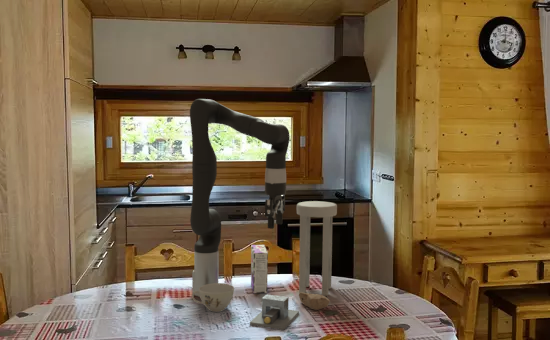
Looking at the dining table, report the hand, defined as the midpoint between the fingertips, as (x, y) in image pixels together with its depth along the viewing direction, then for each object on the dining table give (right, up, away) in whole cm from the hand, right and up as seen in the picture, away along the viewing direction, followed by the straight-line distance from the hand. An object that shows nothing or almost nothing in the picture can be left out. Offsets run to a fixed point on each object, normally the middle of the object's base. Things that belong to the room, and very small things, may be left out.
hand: (275, 226), depth 192 cm
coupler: (0, -31, -8) cm, 32 cm away
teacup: (-22, -30, +1) cm, 37 cm away
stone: (+14, -30, +6) cm, 34 cm away
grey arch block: (0, -30, -8) cm, 31 cm away
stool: (+16, -28, +24) cm, 41 cm away
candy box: (-7, -28, +26) cm, 39 cm away
